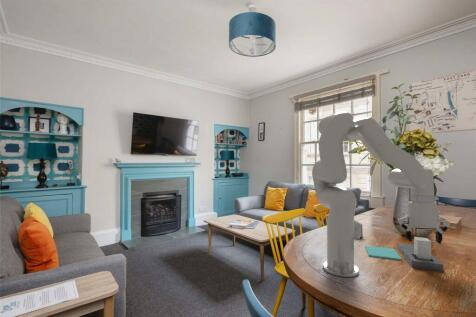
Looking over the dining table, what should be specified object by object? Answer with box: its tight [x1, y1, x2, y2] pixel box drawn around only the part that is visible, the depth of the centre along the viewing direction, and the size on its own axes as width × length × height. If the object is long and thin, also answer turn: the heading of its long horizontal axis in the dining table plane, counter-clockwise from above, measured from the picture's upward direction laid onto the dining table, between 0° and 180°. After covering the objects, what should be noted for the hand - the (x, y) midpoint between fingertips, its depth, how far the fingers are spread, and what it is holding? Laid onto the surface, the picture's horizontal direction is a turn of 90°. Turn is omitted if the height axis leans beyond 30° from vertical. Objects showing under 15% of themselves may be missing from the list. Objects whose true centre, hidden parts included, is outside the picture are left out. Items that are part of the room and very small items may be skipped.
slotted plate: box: [396, 242, 444, 272], centre depth 102 cm, size 22×10×2 cm, turn 159°
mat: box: [364, 245, 402, 261], centre depth 108 cm, size 12×12×1 cm
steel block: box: [413, 236, 432, 261], centre depth 97 cm, size 4×4×10 cm
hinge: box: [354, 219, 364, 240], centre depth 135 cm, size 17×5×10 cm, turn 46°
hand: (423, 241), depth 97 cm, fingers open, 9 cm apart
